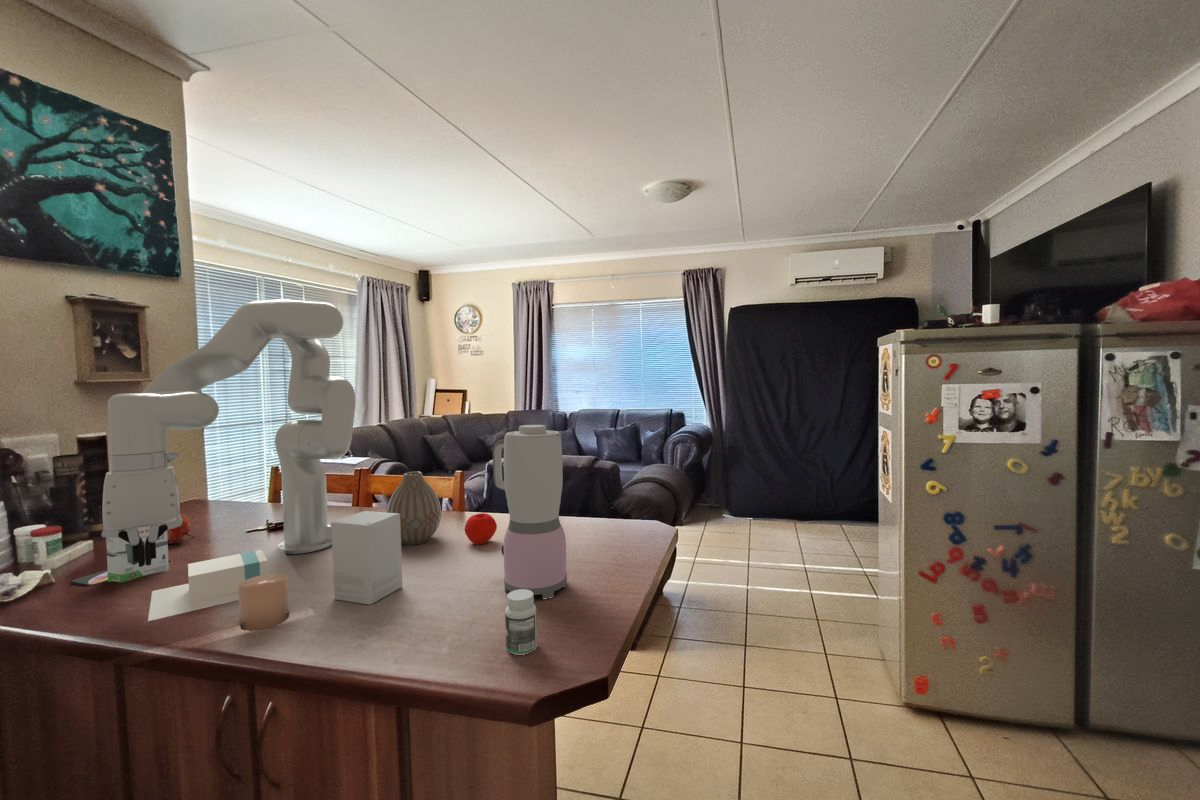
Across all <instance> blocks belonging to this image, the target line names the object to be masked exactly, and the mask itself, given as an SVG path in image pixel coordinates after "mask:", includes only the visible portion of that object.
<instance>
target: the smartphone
mask: <svg viewBox="0 0 1200 800" xmlns="http://www.w3.org/2000/svg"><path fill="white" fill-rule="evenodd" d="M169 562H170V563H171V562H172V561H171V560H170V559H168V563H169ZM70 581H71V582H70V583H71V585H76V586H82V587H91V586H96V585H101V584H105V583H106V584H107V583H109V582H108V569H106V570H101V571H99V572H95V573H92V574H89V575H85V576H81V577H79V578H76V579H73V580H70Z"/></svg>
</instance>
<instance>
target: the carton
mask: <svg viewBox="0 0 1200 800" xmlns="http://www.w3.org/2000/svg"><path fill="white" fill-rule="evenodd" d="M187 571H188V572H187V573H188V575H187V576H188V583H189V595H190V604H192V603H196V602H200V601H204V600H209V599H213V598H217V597H221V596H226V595H230V594H234V593H238V592H239V587H238V586H239V584H240V583H241V582H243V581H245V580H247V579H250V578H252V577H256V576H260V575H265V574H269V567H268V558H267V557H266V555H265V553H264V551H263V549H257V550H250V551H246V552H242V553H237V554H233V555H227V556H221V557H216V558H212V559H206V560H202V561H196V562H192V563H188V564H187Z"/></svg>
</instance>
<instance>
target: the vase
mask: <svg viewBox="0 0 1200 800" xmlns="http://www.w3.org/2000/svg"><path fill="white" fill-rule="evenodd" d="M441 509H442V508H441V503H440V499H439V497H438V495H437V492H435V489H433V487H432V486H431V485H430V484H429V483H428V482H427V481H426V479H425V477H424V476H423V472H422V471H409V472H405V473H403V477H402V479H401V482H400V483H399V485H398V486H397V487H396V488H395V490H394V491H393V493H392V494H391V496H390V498H389V500H388V503H387V507H386V513H398V514H400V528H401V545H407V546H412V545H420V544H423V543H426V542H428V541H429V540H430V539H431V538H432V537H433V536H434V534H435V533H436V532H437V530H438V528H439V525H440V523H441V517H442V510H441Z"/></svg>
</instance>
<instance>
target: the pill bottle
mask: <svg viewBox="0 0 1200 800" xmlns="http://www.w3.org/2000/svg"><path fill="white" fill-rule="evenodd" d="M534 596H535V595H534V594H533V592H532V591H530V590H527V589H519V590H514V591H509V592H508V593H507V595H506V604H507V606H506V607H505V611H504V621H505V622H504V623H505V648H506V651H507V650H508V651H509V652H511V653H513V654H526V653H529V652H531V653H533V652H534V651H536V650H537V648H536V647H538V628H537V627H538V625H537V623H538V621H537V607H536V605H535V604H534V601H535V599H534ZM533 650H534V651H533ZM508 651H507V652H508ZM532 651H533V652H532ZM509 652H508V653H509ZM529 654H530V653H529Z"/></svg>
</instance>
